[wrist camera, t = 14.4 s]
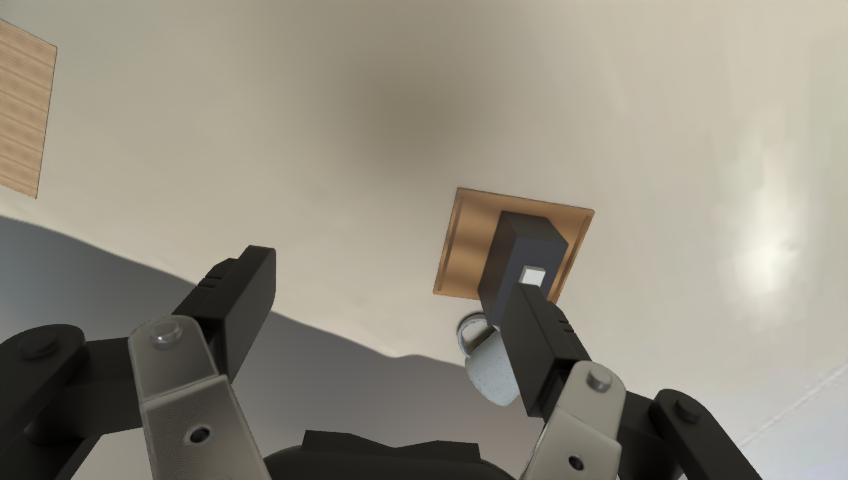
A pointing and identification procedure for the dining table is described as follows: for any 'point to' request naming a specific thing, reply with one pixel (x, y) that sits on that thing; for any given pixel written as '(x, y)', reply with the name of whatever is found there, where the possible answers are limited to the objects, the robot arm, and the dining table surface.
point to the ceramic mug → (490, 366)
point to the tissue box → (519, 260)
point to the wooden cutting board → (477, 229)
